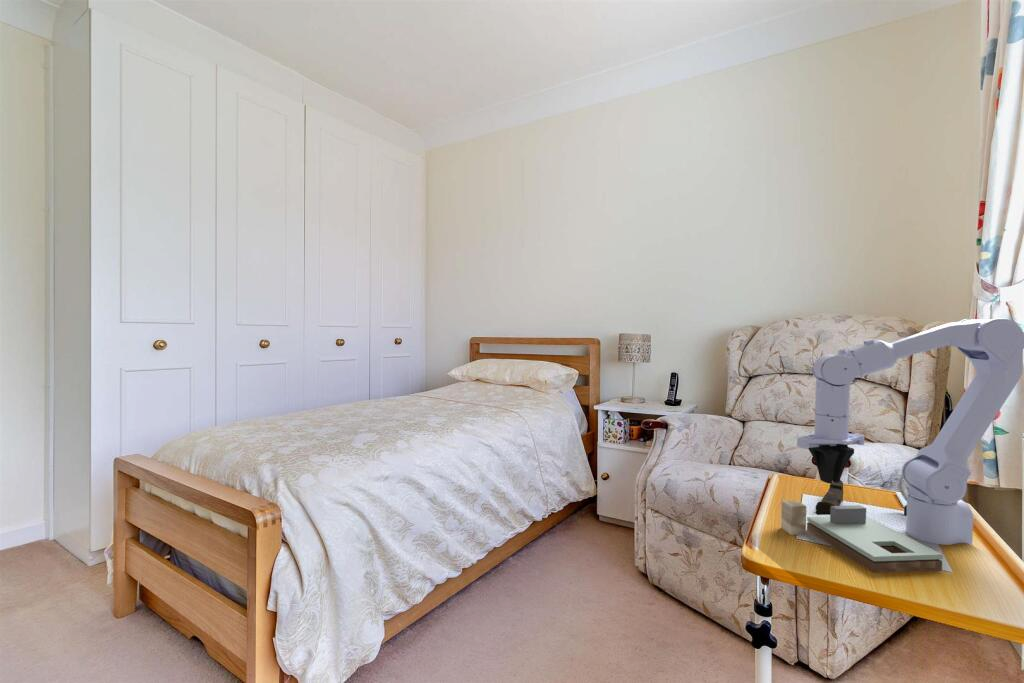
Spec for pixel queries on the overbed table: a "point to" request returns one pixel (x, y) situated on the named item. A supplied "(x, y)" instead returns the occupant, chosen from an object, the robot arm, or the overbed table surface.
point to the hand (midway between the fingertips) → (829, 481)
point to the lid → (870, 535)
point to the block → (793, 517)
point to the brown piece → (877, 565)
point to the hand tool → (830, 498)
